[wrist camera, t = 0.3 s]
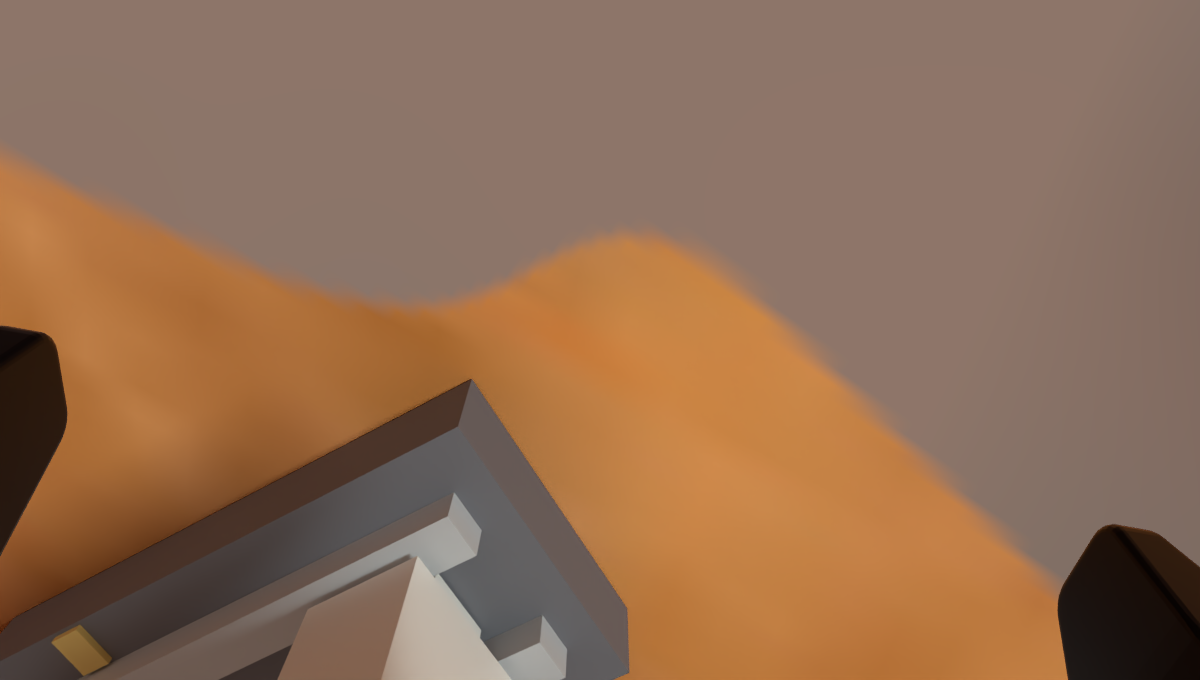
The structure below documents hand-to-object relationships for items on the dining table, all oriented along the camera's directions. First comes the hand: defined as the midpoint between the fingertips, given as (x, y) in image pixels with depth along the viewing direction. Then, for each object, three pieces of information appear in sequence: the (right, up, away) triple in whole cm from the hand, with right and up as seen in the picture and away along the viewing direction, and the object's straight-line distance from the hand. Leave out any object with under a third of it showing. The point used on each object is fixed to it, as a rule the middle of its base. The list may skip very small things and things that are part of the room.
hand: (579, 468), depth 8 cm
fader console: (-8, -6, +19) cm, 21 cm away
